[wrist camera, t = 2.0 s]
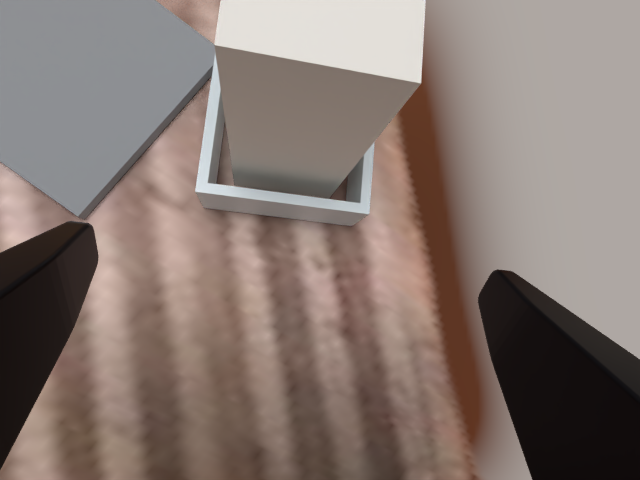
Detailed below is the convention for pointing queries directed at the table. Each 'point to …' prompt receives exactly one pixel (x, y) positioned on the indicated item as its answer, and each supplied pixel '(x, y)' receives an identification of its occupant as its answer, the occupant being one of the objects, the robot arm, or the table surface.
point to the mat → (91, 89)
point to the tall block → (312, 85)
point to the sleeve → (268, 200)
